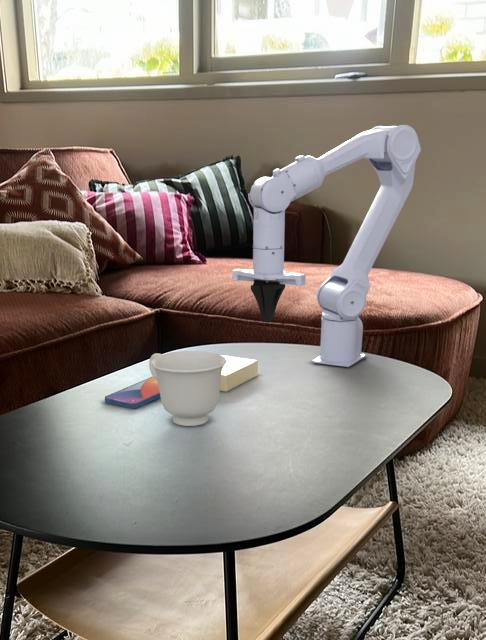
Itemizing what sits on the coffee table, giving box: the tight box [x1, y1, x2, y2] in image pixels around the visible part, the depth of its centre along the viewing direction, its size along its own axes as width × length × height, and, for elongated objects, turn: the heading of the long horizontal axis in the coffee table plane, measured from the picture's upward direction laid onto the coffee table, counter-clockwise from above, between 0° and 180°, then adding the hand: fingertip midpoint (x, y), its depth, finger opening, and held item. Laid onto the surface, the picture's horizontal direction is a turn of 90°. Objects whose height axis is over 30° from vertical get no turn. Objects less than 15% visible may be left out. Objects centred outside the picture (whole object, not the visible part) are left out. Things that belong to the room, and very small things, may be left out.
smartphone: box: [104, 376, 161, 409], centre depth 137 cm, size 7×15×1 cm, turn 145°
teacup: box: [148, 350, 227, 427], centre depth 123 cm, size 12×15×10 cm
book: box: [219, 354, 259, 392], centre depth 144 cm, size 12×9×3 cm
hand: (267, 321), depth 147 cm, fingers closed
